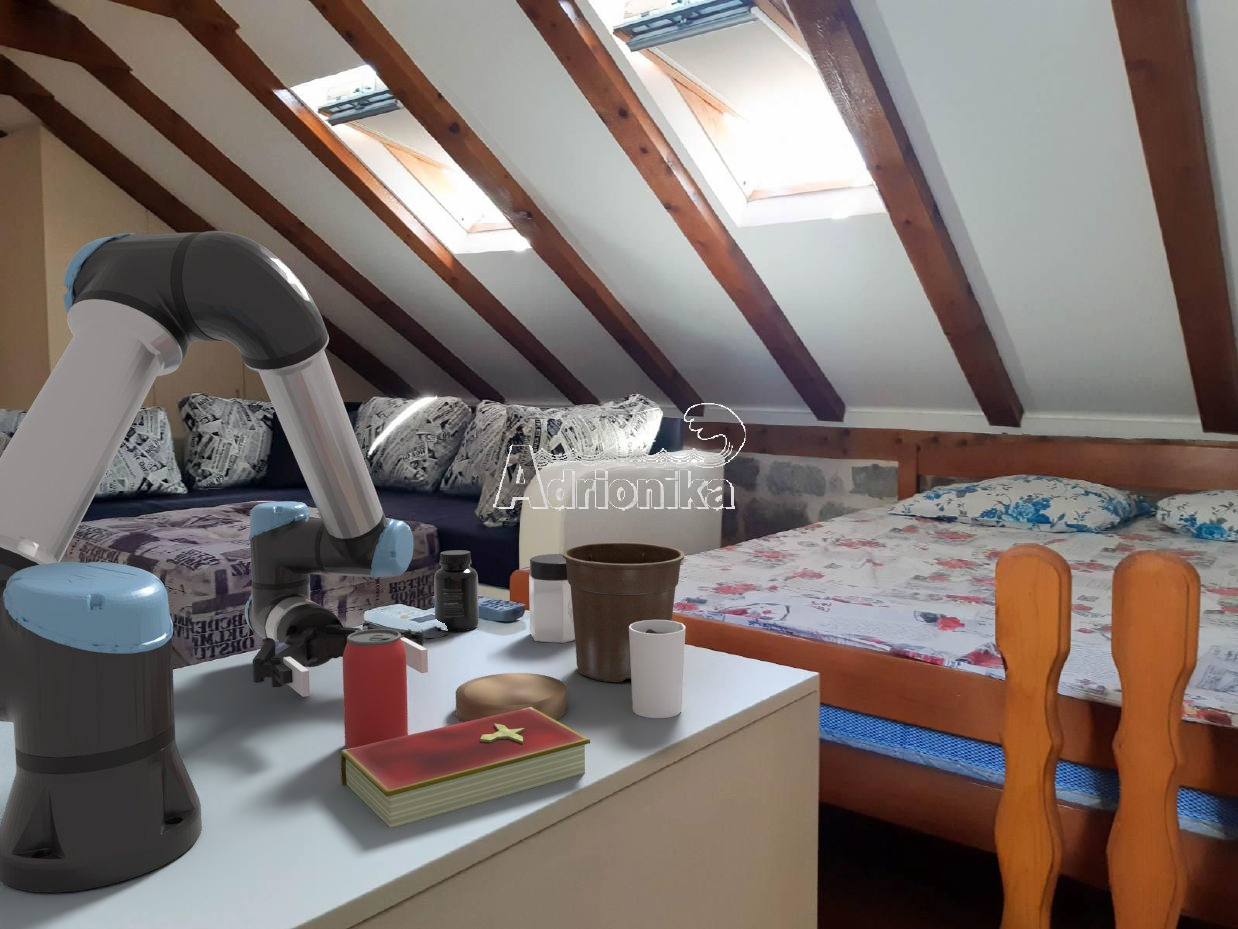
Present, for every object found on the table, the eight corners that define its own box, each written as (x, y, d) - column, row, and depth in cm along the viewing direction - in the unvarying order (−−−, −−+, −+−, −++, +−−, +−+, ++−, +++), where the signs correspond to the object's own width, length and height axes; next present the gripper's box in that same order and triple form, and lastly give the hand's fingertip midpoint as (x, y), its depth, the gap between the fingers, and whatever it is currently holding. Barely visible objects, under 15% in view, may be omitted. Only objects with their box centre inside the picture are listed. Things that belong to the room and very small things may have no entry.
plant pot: (702, 662, 132) (703, 547, 130) (652, 696, 118) (652, 567, 116) (599, 647, 139) (599, 538, 138) (540, 678, 125) (539, 556, 124)
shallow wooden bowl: (488, 739, 104) (488, 716, 104) (437, 706, 114) (436, 685, 114) (588, 714, 111) (587, 693, 111) (531, 685, 122) (531, 666, 122)
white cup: (621, 715, 111) (620, 631, 110) (639, 698, 117) (639, 617, 116) (676, 722, 109) (676, 636, 108) (692, 704, 115) (692, 622, 114)
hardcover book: (341, 788, 92) (339, 746, 92) (529, 740, 104) (529, 703, 104) (387, 836, 83) (386, 789, 82) (590, 777, 95) (590, 736, 94)
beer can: (392, 759, 98) (389, 645, 97) (333, 754, 100) (329, 642, 98) (418, 736, 105) (415, 628, 104) (362, 732, 106) (359, 626, 105)
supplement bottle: (487, 625, 152) (486, 551, 151) (458, 635, 147) (457, 557, 146) (455, 619, 156) (454, 547, 155) (425, 628, 150) (424, 553, 149)
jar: (552, 647, 140) (551, 566, 139) (517, 636, 146) (516, 558, 145) (597, 635, 146) (596, 558, 145) (562, 626, 152) (561, 551, 151)
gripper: (397, 644, 130) (469, 684, 113) (202, 678, 115) (252, 729, 98) (396, 590, 130) (468, 621, 112) (200, 617, 115) (249, 658, 98)
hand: (367, 672), depth 105 cm, fingers open, 13 cm apart
